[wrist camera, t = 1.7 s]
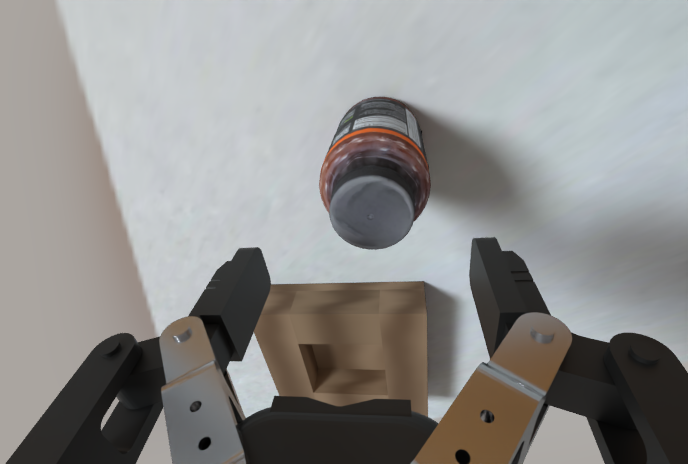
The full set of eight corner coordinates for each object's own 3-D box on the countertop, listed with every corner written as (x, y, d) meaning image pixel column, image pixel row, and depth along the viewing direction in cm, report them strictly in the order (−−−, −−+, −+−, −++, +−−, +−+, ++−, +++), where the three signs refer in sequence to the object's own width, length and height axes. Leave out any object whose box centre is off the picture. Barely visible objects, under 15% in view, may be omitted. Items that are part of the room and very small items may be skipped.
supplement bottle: (401, 184, 27) (405, 282, 18) (329, 160, 27) (294, 247, 18) (435, 110, 24) (460, 183, 15) (352, 81, 24) (325, 137, 14)
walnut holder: (423, 281, 33) (426, 313, 29) (425, 384, 41) (427, 418, 38) (260, 284, 35) (246, 314, 32) (294, 380, 44) (286, 411, 41)
